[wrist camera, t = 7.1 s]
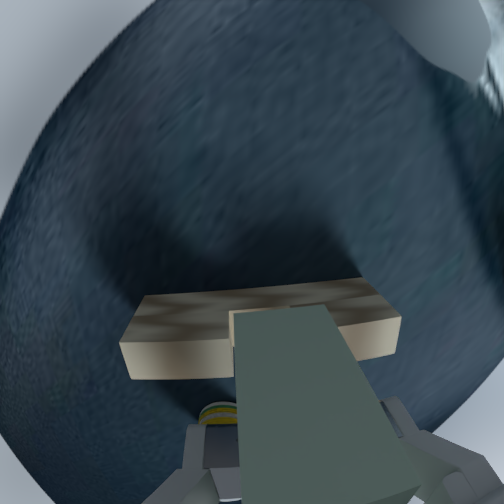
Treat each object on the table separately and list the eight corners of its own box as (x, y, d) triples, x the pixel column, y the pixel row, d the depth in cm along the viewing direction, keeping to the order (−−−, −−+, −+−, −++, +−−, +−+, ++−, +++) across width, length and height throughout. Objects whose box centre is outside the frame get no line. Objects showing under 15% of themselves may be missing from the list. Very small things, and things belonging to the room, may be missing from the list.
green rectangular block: (233, 313, 10) (242, 524, 3) (324, 304, 10) (421, 484, 3) (256, 500, 14) (266, 594, 8) (305, 495, 14) (324, 586, 8)
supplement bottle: (260, 421, 29) (269, 495, 20) (218, 437, 30) (218, 508, 21) (232, 391, 28) (234, 472, 19) (188, 410, 28) (179, 487, 19)
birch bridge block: (151, 327, 25) (131, 379, 18) (144, 295, 24) (119, 342, 17) (360, 308, 26) (394, 353, 19) (362, 277, 25) (401, 316, 18)
